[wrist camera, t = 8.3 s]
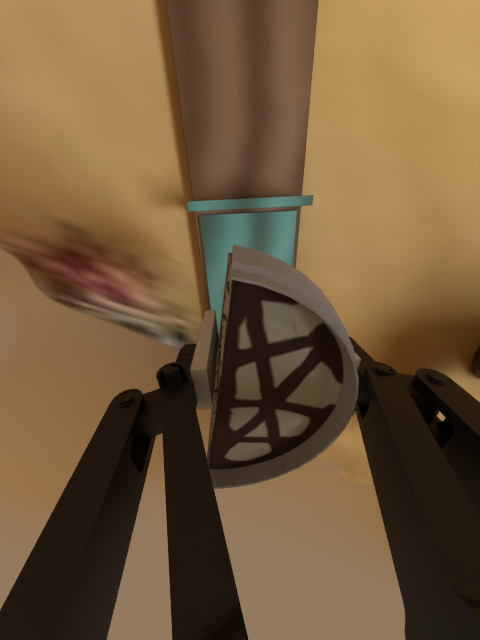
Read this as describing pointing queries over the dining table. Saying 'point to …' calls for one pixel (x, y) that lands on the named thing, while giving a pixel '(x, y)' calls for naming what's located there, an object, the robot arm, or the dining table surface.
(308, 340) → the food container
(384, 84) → the dining table surface
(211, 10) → the rack
